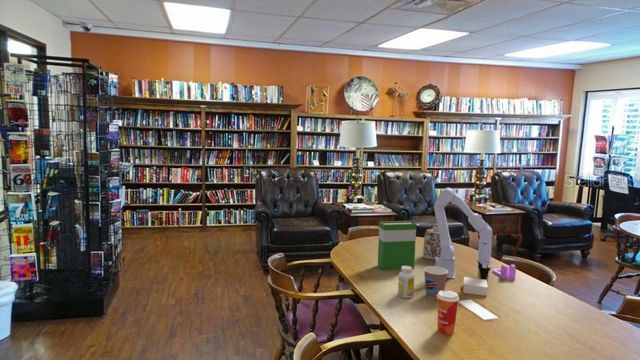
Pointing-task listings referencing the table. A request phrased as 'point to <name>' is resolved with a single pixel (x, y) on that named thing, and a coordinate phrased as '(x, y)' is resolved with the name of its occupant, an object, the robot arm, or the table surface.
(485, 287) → the painted block
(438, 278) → the coffee cup
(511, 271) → the bracket
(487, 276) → the green cube
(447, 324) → the paper cup
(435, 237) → the decorative jar
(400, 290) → the supplement bottle
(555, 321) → the table surface
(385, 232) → the green cereal box
